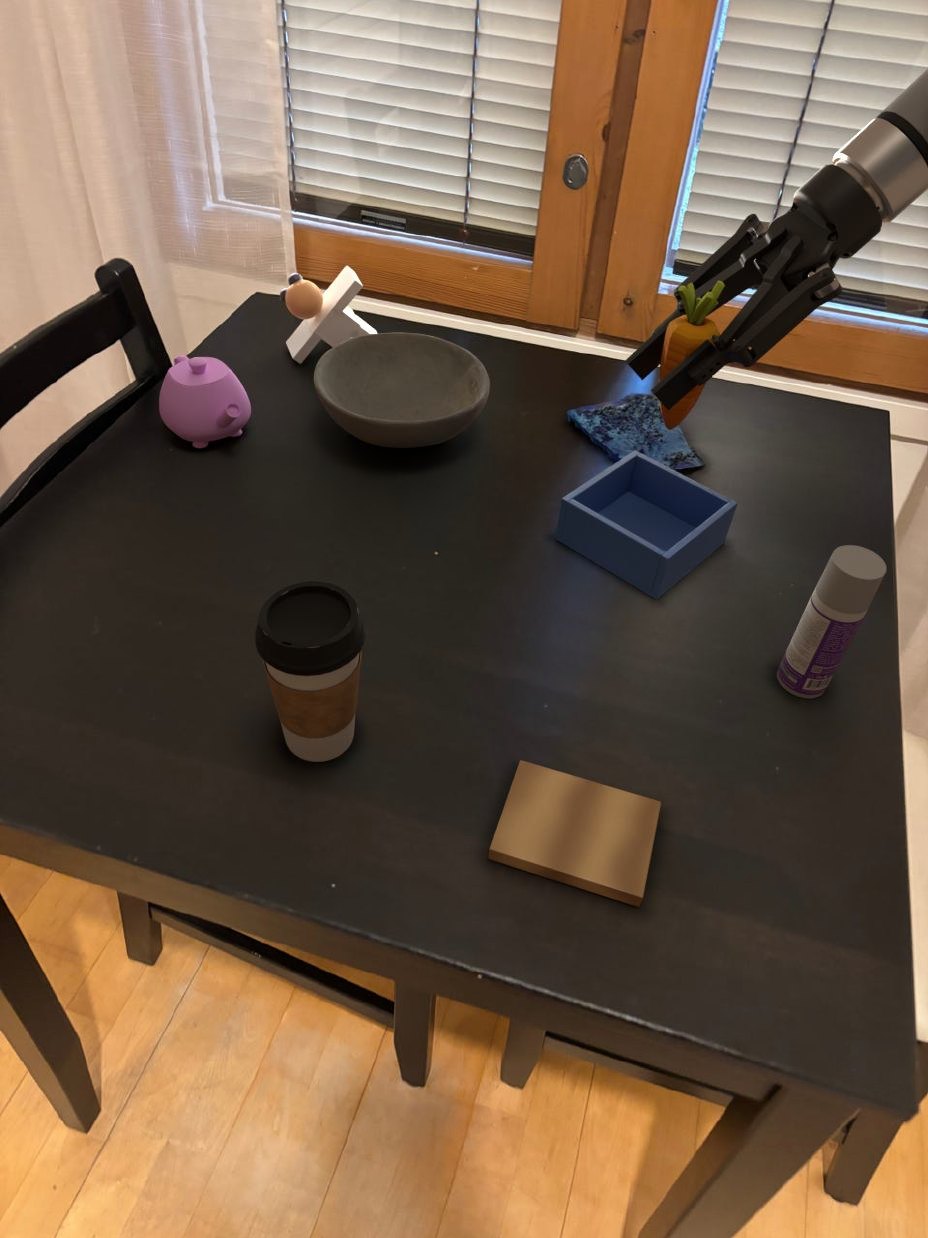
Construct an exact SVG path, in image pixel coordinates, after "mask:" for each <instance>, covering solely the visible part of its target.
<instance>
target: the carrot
mask: <svg viewBox="0 0 928 1238" xmlns="http://www.w3.org/2000/svg"><path fill="white" fill-rule="evenodd" d="M724 286H725V285H724V283H723V282H722V281H719V280H718V282H717V283H716V285H715V287H714V288H713V290H712V292H707V293H706V294H705V295H704V296H703V298H702V299H701V298H700V297H699V298H697V299H696V306H695V289H694V286H693V283H690V284H688V285H687V287H688V289H687V287H686V286H680V287H679V289H678V292H679V294H680V296H681V299H682V302H683V305H684V308H685V311H686V315H683V316H681V317H679V318H677V319H675V320H673V321H671V322H670V323H669V325H668V327H667V330H666V335H665V340H664V345H663V350H662V357H661V363H660V365H659V371H658V372H659V376H658V383H659V382H660V381H661V380H663V379H664V378H665V377H666V376H667V375H668V374H669V373H670V372H671V371H672V370H674V369H675V368H676V367H677V366H678V365H679V364H680V363H681V362H682V361H684V360H685V359H686V358H687V357H688V356H689V355H690V354H691V353H692V352H694V351H695V350H696V349H697V348H698V347H699V346H700V345H701V344H702V343H703V342H705V341H706V340H707V339H708V340H709V341H710V342H711V343H712V344H713V346H714V347H715V344H714V343H713V342H712V340H711V337H712V335H714V336H715V335H716V336H718V337H719V336H720V335H721V332H720V330H719V328H718V326H717V323H715V321H713V320H712V319H710V318H707V317H708V316H709V315H710V314H709V313H710V312H711V311H712V310H713V309H714V308H715V307H716V305H717V304H718V302H717V299H718V297H719V296H720V294H721V292H722V290H723V288H724ZM708 314H709V315H708ZM707 315H708V316H707ZM706 384H707V382H706V383H705V384H703V385H701V386H698V385H697V386H696V387H695V388H693V389H692V390H691V391H690V392H689V393H688V394H687V395H685V396H684V397H683V398H682V399H681V400H680V401H679V402H678V403H676V404H675V405H674V406H673V407H672V408H671V409H670V410H669V411H668V410H667V409H666V407H665V406H664V405H663V404H662V403H661V402H660V407H661V412H662V416H663V419H664V423H665V426H666V427H667V429H668V430H672V429H674V428H675V427H677V426H678V425H679V426H680V424H681V423H682V422H683V421H684V419H686V418H687V417H688V415H689V414H690V412H692V410H693V408H694V407H695V406H696V404H697V402H698V400H699V398H700V397H701V394H702V393H703V390H704V388H705V386H706Z"/></svg>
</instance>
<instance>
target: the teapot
mask: <svg viewBox="0 0 928 1238" xmlns="http://www.w3.org/2000/svg"><path fill="white" fill-rule="evenodd" d="M173 363H174V365H173V366H171V367H169V369H168V370H167V373H166V374H165V377H164V379H163V382H162V385H161V388H160V391H159V396H158V397H159V399H158V409H159V410H158V411H159V416H160V418H161V420H162V422H163V424H165V426H166V427H167V428H168V429H169V430H170V431H172V432H173V433H174V434H175V435H176V436H177V437H179V438H181V439H182V440H185V441H186V442H192V447H194V448H196V449H203V448H206V447H208V446H209V442H213V441H218V440H222V439H225V438H227V437H233V438H234V437H239V436H241V435H242V434H243V430H242V429H243V428H244V426H246V424H247V423H248V421H249V419H250V418H251V415H252V406H251V401H250V399H249V396H248V394H247V391H246V390H245V388H244V386H243V384H242V383H241V382H240V381H241V380H239V378H238V377H237V376H236V374H235V373H234V372H233V370H232V369H231V368H230V367H229V366H228V365H227V364H226V363H224V362H223V361H222V360H220V359H218V358H216V357H211V356H194V357H192V358H189V356H187V355H185V354H181V355H177V356H175V357H174V359H173Z"/></svg>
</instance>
